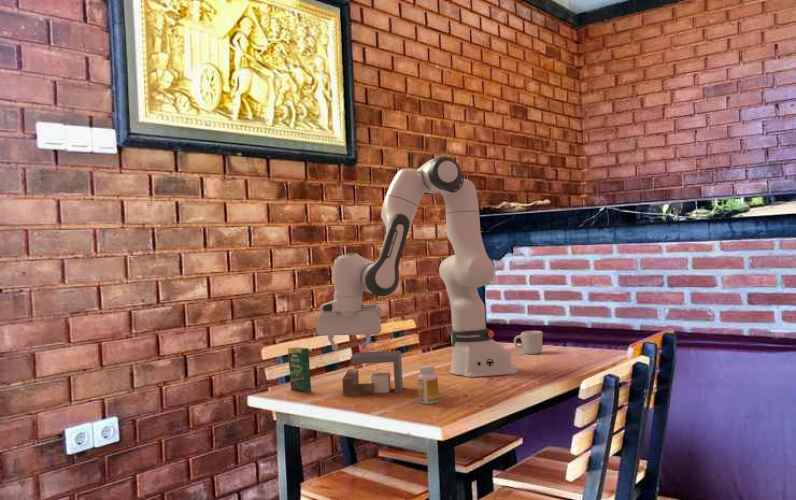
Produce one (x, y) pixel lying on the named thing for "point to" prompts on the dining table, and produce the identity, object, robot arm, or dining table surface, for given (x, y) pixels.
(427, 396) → the supplement bottle
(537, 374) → the dining table surface
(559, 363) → the dining table surface
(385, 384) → the cream block
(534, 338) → the cup
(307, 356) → the coffee box
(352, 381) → the wooden stepped block
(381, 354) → the low shelf
